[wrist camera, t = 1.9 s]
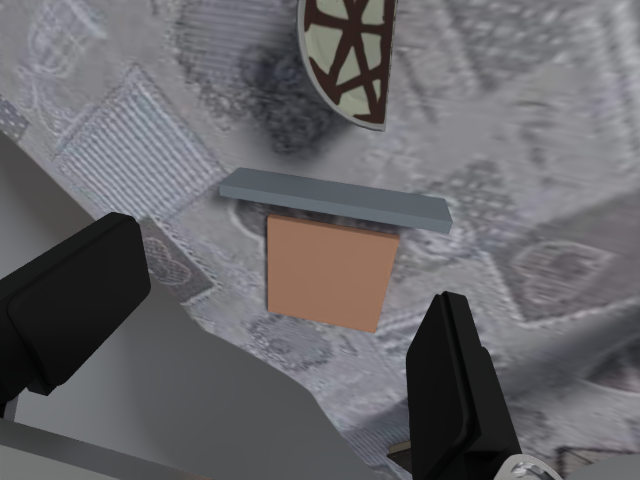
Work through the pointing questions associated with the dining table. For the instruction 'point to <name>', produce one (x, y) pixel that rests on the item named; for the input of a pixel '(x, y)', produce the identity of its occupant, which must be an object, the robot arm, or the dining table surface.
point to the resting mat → (328, 271)
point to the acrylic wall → (339, 199)
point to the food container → (349, 55)
